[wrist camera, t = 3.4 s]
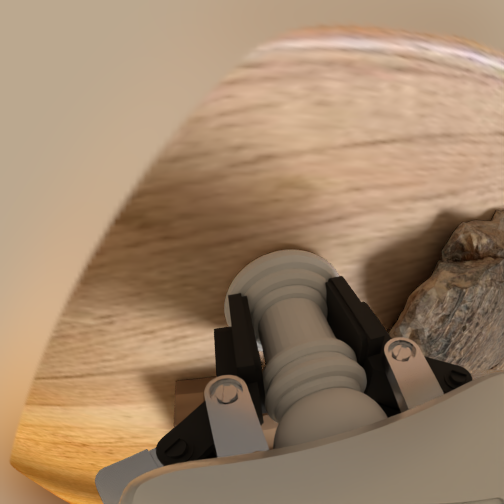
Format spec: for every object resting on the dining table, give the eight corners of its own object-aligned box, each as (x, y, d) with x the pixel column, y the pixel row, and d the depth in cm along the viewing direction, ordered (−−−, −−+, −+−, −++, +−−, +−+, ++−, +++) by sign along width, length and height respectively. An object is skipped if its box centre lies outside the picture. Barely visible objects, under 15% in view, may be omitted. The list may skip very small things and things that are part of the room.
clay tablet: (329, 375, 17) (491, 360, 21) (355, 437, 13) (517, 390, 17) (422, 145, 12) (554, 233, 16) (498, 166, 7) (590, 255, 11)
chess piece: (200, 314, 13) (206, 516, 5) (275, 220, 12) (385, 426, 4) (288, 355, 15) (337, 514, 7) (359, 282, 14) (467, 436, 6)
